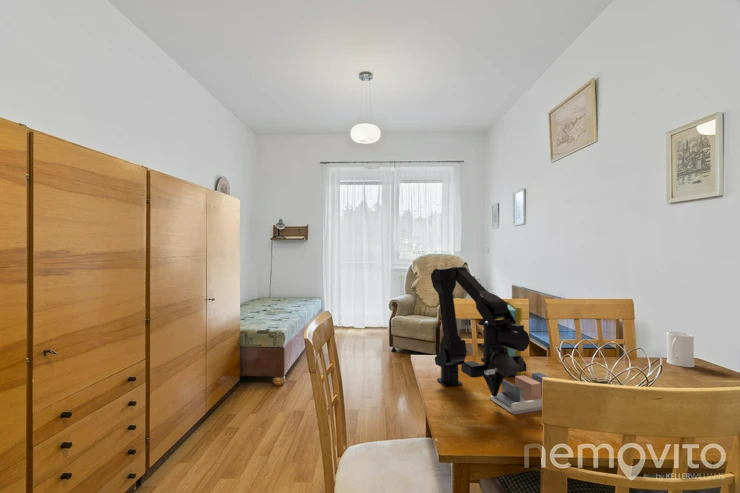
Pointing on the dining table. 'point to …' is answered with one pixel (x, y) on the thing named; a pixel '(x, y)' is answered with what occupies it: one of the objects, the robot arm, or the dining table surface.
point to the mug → (680, 349)
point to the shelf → (524, 405)
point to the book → (517, 316)
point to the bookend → (509, 393)
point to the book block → (528, 387)
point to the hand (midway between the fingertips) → (494, 395)
